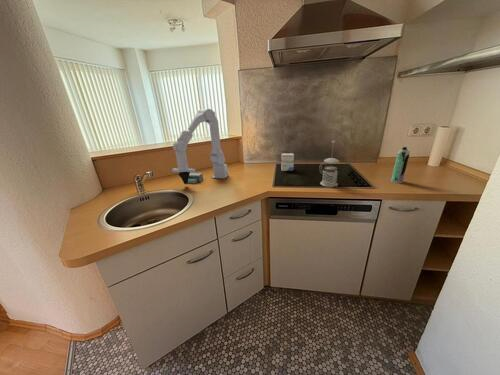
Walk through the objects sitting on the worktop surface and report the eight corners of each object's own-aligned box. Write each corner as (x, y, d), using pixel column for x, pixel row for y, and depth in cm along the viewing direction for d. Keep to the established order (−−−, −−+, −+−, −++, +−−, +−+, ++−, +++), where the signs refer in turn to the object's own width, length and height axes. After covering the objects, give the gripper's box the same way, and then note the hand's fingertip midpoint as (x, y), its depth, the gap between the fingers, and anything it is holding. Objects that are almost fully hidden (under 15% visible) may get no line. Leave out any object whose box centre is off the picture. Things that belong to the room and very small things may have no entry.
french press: (331, 188, 112) (336, 142, 103) (314, 182, 121) (317, 140, 112) (341, 183, 118) (347, 140, 108) (324, 179, 126) (328, 138, 117)
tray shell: (199, 180, 134) (199, 176, 133) (195, 183, 129) (194, 179, 128) (190, 179, 136) (189, 176, 135) (185, 182, 130) (184, 179, 129)
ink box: (292, 168, 149) (293, 153, 145) (293, 170, 145) (294, 154, 140) (281, 168, 150) (281, 153, 146) (281, 170, 146) (281, 154, 141)
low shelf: (203, 179, 135) (202, 173, 134) (199, 182, 131) (198, 175, 129) (189, 178, 137) (188, 172, 136) (185, 181, 133) (184, 175, 131)
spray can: (404, 183, 115) (413, 147, 107) (393, 182, 116) (401, 147, 109) (399, 179, 120) (408, 146, 112) (389, 179, 121) (397, 146, 114)
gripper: (167, 163, 117) (171, 185, 122) (190, 163, 114) (193, 186, 119) (174, 160, 123) (178, 181, 128) (195, 160, 120) (199, 182, 125)
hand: (186, 183), depth 124 cm, fingers closed
